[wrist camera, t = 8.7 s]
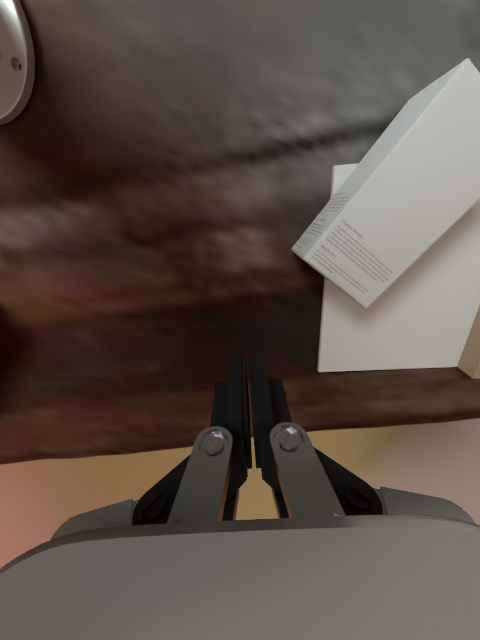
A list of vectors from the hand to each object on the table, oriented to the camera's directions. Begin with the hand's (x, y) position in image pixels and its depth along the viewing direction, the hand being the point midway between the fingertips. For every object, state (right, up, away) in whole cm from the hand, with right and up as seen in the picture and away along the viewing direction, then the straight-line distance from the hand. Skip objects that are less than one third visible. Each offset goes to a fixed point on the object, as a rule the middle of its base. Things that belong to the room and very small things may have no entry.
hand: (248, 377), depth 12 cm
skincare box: (+8, +7, +11) cm, 16 cm away
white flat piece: (+18, +7, +15) cm, 25 cm away
